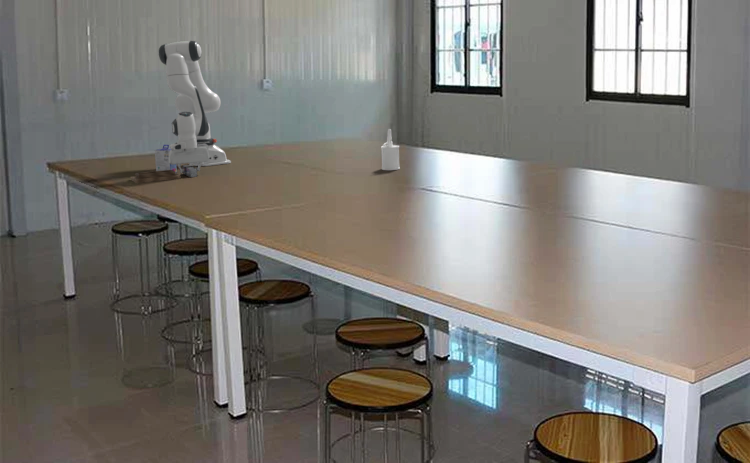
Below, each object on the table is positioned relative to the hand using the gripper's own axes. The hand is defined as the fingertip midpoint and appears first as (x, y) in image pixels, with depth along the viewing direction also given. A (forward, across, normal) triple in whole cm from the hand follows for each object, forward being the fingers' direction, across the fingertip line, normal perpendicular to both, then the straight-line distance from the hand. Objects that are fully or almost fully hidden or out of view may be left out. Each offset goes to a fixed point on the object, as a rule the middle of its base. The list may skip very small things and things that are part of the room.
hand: (190, 171), depth 458 cm
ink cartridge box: (+2, +8, -17) cm, 19 cm away
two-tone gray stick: (+2, 0, 0) cm, 2 cm away
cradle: (+2, +18, +2) cm, 18 cm away
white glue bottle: (+2, -90, +46) cm, 101 cm away
